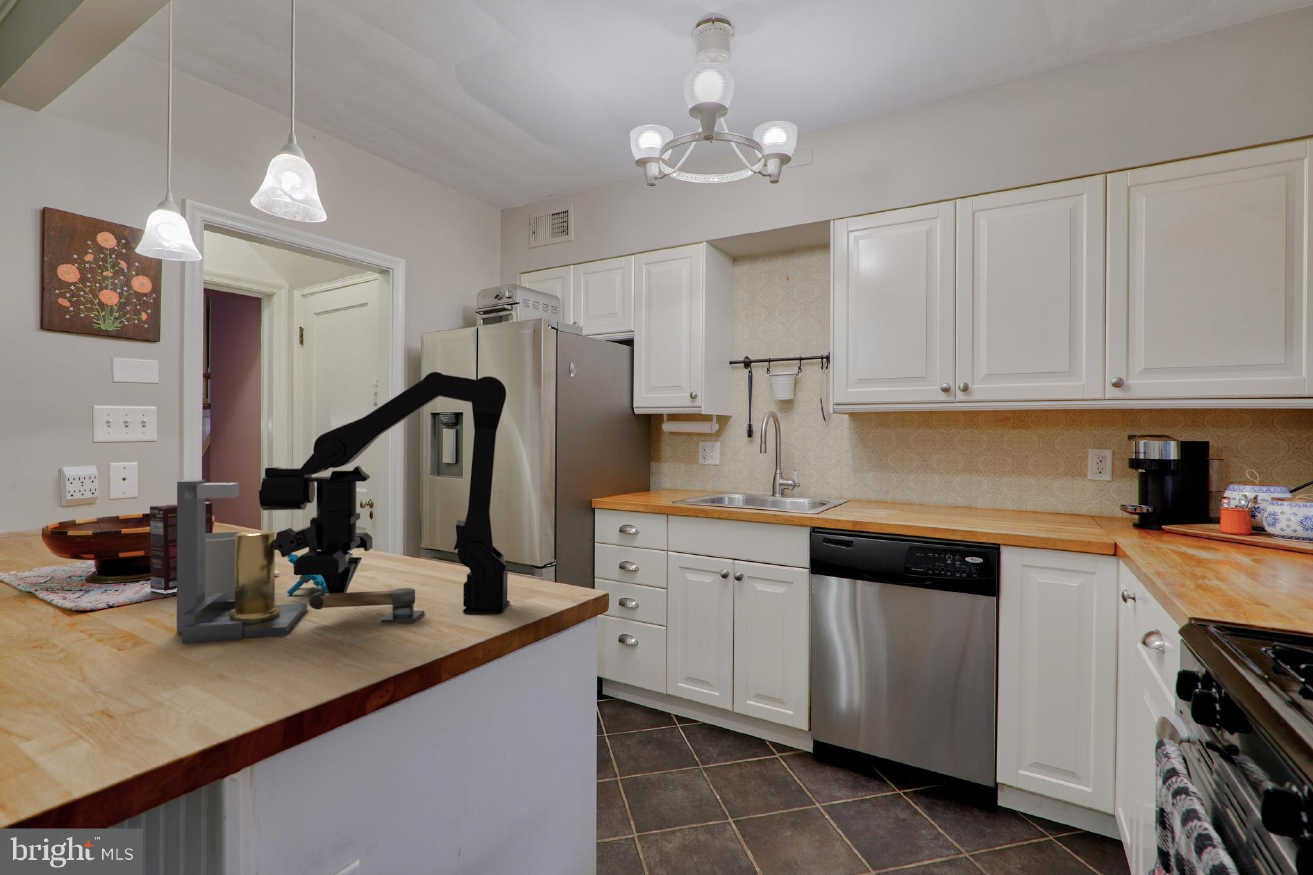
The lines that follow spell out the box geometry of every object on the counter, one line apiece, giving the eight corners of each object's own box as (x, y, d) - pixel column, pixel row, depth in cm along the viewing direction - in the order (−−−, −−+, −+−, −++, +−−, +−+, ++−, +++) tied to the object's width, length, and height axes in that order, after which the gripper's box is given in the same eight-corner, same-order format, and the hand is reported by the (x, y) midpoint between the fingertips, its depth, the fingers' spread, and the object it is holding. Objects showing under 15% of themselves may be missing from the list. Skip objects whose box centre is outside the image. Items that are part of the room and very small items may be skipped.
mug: (191, 606, 106) (191, 541, 105) (188, 595, 112) (189, 534, 112) (273, 595, 113) (273, 535, 113) (266, 585, 120) (267, 528, 120)
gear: (333, 589, 111) (289, 552, 110) (306, 615, 109) (260, 577, 108) (339, 583, 122) (299, 548, 120) (315, 607, 120) (273, 572, 118)
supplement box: (198, 581, 122) (198, 500, 121) (214, 584, 120) (214, 502, 119) (147, 592, 114) (148, 505, 113) (163, 595, 112) (164, 507, 111)
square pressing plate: (424, 614, 103) (424, 601, 103) (412, 623, 98) (412, 609, 98) (394, 613, 103) (394, 600, 103) (380, 623, 98) (380, 609, 98)
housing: (289, 613, 99) (290, 531, 98) (251, 625, 92) (251, 538, 92) (258, 608, 101) (258, 529, 100) (218, 620, 94) (218, 535, 94)
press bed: (307, 609, 105) (308, 476, 105) (284, 636, 92) (285, 484, 91) (200, 615, 100) (200, 476, 100) (159, 645, 87) (160, 485, 87)
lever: (416, 601, 103) (416, 585, 103) (413, 607, 99) (413, 591, 99) (313, 606, 99) (313, 589, 99) (305, 612, 96) (305, 596, 96)
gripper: (305, 500, 108) (305, 589, 108) (254, 519, 89) (255, 626, 90) (373, 500, 110) (373, 588, 110) (337, 518, 91) (337, 623, 92)
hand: (336, 604), depth 101 cm, fingers closed
